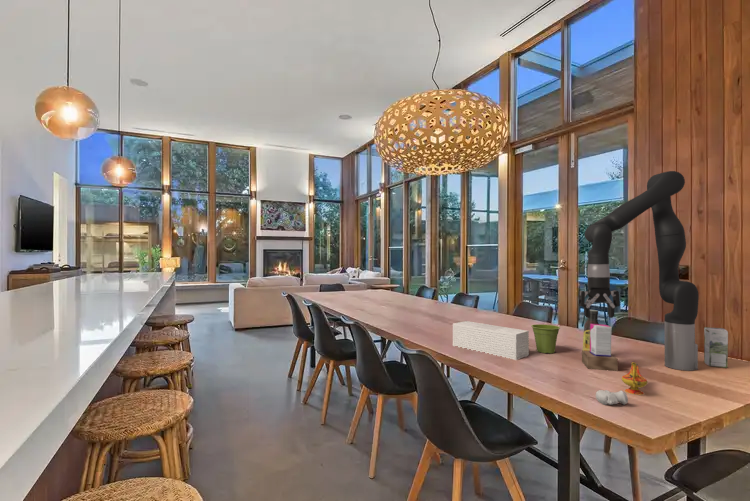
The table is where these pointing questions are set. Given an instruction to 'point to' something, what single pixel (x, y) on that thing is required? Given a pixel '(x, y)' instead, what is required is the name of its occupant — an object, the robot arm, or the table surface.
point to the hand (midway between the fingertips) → (599, 317)
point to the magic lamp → (634, 380)
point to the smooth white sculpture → (611, 397)
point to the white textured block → (491, 339)
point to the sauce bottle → (586, 335)
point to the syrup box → (716, 347)
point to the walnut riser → (599, 361)
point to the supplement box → (600, 340)
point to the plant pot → (545, 337)
